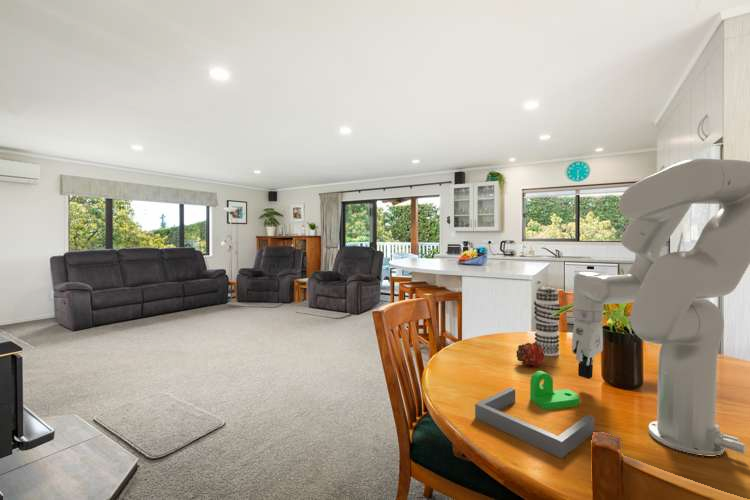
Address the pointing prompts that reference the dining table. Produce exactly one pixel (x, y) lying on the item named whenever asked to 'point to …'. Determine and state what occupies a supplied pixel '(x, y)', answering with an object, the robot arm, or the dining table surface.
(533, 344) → the dragon fruit
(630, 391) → the dining table surface
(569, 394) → the mechanical part
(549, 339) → the decorative candle
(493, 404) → the u-shaped bracket
